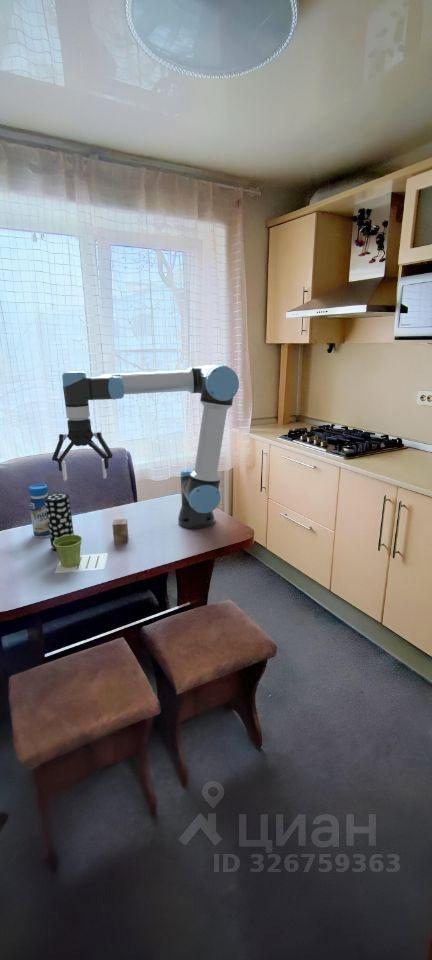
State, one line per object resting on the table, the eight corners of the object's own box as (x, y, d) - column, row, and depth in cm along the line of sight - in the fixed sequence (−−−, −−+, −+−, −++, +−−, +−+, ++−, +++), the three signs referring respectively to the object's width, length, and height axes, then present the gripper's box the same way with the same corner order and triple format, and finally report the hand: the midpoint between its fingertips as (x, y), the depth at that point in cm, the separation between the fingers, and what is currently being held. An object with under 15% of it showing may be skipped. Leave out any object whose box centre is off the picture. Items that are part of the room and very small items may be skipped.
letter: (107, 553, 156) (107, 553, 156) (104, 569, 145) (104, 569, 145) (61, 557, 154) (61, 556, 154) (54, 573, 143) (54, 573, 143)
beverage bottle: (52, 528, 179) (46, 481, 173) (58, 534, 173) (52, 487, 167) (31, 533, 175) (23, 485, 169) (36, 540, 168) (28, 491, 162)
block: (128, 537, 169) (126, 518, 166) (127, 543, 164) (126, 523, 162) (115, 538, 168) (113, 519, 166) (114, 544, 163) (112, 524, 161)
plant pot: (74, 571, 143) (71, 547, 141) (50, 568, 146) (46, 544, 143) (90, 558, 152) (87, 536, 149) (67, 555, 155) (64, 533, 152)
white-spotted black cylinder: (47, 551, 158) (39, 500, 152) (58, 542, 166) (51, 492, 160) (69, 553, 157) (62, 501, 151) (79, 543, 165) (72, 493, 159)
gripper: (117, 415, 152) (122, 473, 158) (43, 418, 149) (51, 477, 155) (115, 418, 145) (120, 479, 151) (37, 421, 142) (46, 483, 148)
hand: (85, 478), depth 153 cm, fingers open, 13 cm apart
